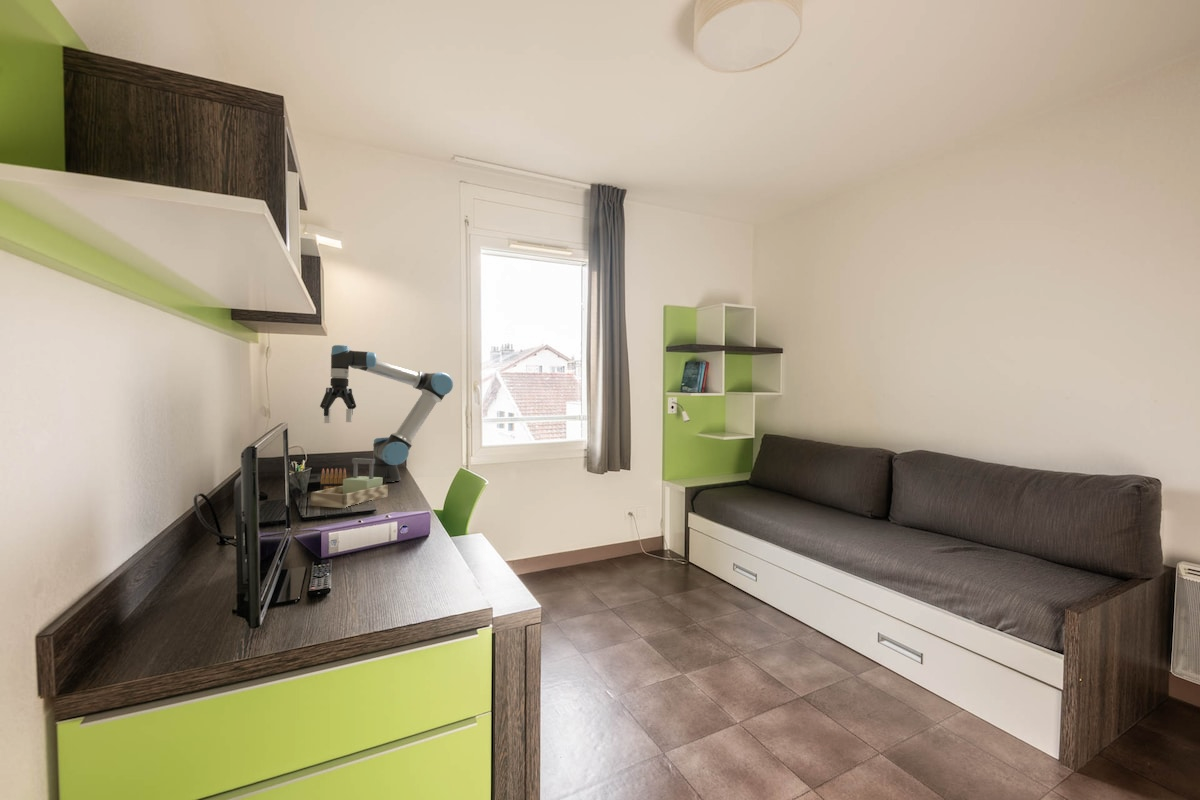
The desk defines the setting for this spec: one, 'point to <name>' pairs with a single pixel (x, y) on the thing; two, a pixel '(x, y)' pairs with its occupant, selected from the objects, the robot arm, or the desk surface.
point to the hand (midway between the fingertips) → (338, 422)
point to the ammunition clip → (332, 479)
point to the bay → (346, 496)
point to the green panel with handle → (361, 478)
